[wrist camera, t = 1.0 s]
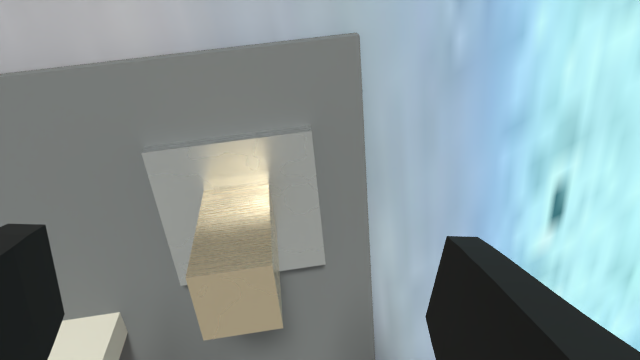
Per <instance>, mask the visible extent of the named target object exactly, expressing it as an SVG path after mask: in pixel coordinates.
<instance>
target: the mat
mask: <svg viewBox="0 0 640 360" xmlns="http://www.w3.org/2000/svg"><path fill="white" fill-rule="evenodd" d="M306 125H310V127H311V131H312V139H313V149H314V158H315V168H316V177H317V187H318V196H319V206H320V215H321V225H322V234H323V244H324V253H325V263H326V264H325V265H318V266H312V267H305V268H298V269H291V270H285V271H279V272H280V287H281V302H282V317H283V328H281V329H275V330H268V331H262V332H256V333H249V334H243V335H236V336H230V337H223V338H217V339H210V340H204V341H203V337H202V334H201V330H200V327H199V323H198V320H197V316H196V313H195V309H194V306H193V302H192V299H191V295H190V292H189V288H188V285H183V286H181V285H180V282H179V278H178V275H177V272H176V268H175V265H174V262H173V258H172V255H171V252H170V248H169V245H168V241H167V238H166V235H165V231H164V228H163V225H162V221H161V218H160V215H159V211H158V208H157V204H156V201H155V198H154V194H153V191H152V188H151V184H150V181H149V178H148V174H147V171H146V167H145V164H144V161H143V157H142V154H141V152H142V151H143V149H144V147H145V146H150V145H158V144H166V143H174V142H182V141H189V140H197V139H205V138H213V137H221V136H228V135H236V134H244V133H252V132H260V131H267V130H275V129H283V128H291V127H299V126H306ZM6 224H41V225H46V229H47V234H48V238H49V243H50V248H51V252H52V257H53V262H54V266H55V271H56V276H57V280H58V285H59V290H60V294H61V299H62V304H63V308H64V313H65V315H64V317H63V320H62V321H64V320H71V319H77V318H84V317H91V316H97V315H104V314H111V313H117V312H120V314H121V316H122V319H123V321H124V324H125V326H126V329H127V332H128V333H127V336H126V340H125V343H124V346H123V349H122V352H121V355H120V358H119V360H375V348H374V327H373V306H372V286H371V265H370V245H369V224H368V203H367V183H366V162H365V141H364V121H363V100H362V79H361V59H360V38H359V35H358V34H357V33H350V34H341V35H332V36H324V37H315V38H307V39H298V40H289V41H281V42H272V43H264V44H255V45H246V46H238V47H229V48H221V49H212V50H203V51H195V52H186V53H178V54H169V55H160V56H152V57H143V58H135V59H126V60H117V61H109V62H100V63H92V64H83V65H74V66H66V67H57V68H49V69H40V70H31V71H23V72H14V73H6V74H0V227H1V226H4V225H6Z"/></svg>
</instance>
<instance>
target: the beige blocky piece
mask: <svg viewBox="0 0 640 360" xmlns="http://www.w3.org/2000/svg"><path fill="white" fill-rule="evenodd" d="M141 154H142V157H143V161H144V164H145V167H146V171H147V174H148V178H149V181H150V184H151V188H152V191H153V194H154V198H155V201H156V204H157V208H158V211H159V215H160V218H161V221H162V225H163V228H164V231H165V235H166V238H167V241H168V245H169V248H170V252H171V255H172V258H173V262H174V265H175V268H176V272H177V275H178V278H179V282H180V285H181V286H183V285H188V288H189V292H190V295H191V299H192V302H193V306H194V309H195V313H196V316H197V320H198V323H199V327H200V330H201V334H202V337H203V341H204V340H210V339H217V338H223V337H230V336H236V335H243V334H249V333H256V332H262V331H268V330H275V329H281V328H283V317H282V302H281V287H280V272H279V271H285V270H291V269H298V268H305V267H312V266H318V265H325V264H326V263H325V253H324V244H323V234H322V225H321V215H320V206H319V196H318V187H317V177H316V168H315V158H314V149H313V139H312V131H311V127H310V125H306V126H299V127H291V128H283V129H275V130H267V131H260V132H252V133H244V134H236V135H228V136H221V137H213V138H205V139H197V140H189V141H182V142H174V143H166V144H158V145H150V146H145V147H144V149H143V151H142V152H141Z"/></svg>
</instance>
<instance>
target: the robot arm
mask: <svg viewBox="0 0 640 360" xmlns="http://www.w3.org/2000/svg"><path fill="white" fill-rule="evenodd" d="M64 315H65V313H64V308H63V304H62V299H61V294H60V290H59V285H58V280H57V276H56V271H55V266H54V262H53V257H52V252H51V248H50V243H49V238H48V234H47V229H46V225H41V224H6V225H4V226H1V227H0V360H48V357H49V355H50V352H51V350H52V347H53V345H54V342H55V339H56V337H57V334H58V331H59V328H60V326H61V323H62V320H63V317H64ZM426 321H427V325H428V329H429V334H430V338H431V342H432V346H433V350H434V354H435V357H436V360H640V352H639V351H637V350H636V349H634V348H633V347H631V346H630V345H628V344H627V343H625V342H624V341H622V340H621V339H620V338H618V337H617V336H615V335H614V334H612V333H611V332H609V331H608V330H606V329H605V328H603V327H602V326H600V325H599V324H597V323H596V322H595V321H593V320H592V319H590V318H589V317H587V316H586V315H585V314H583V313H582V312H580V311H579V310H578V309H576V308H575V307H574V306H572V305H571V304H569V303H568V302H567V301H565V300H564V299H563V298H561V297H560V296H558V295H557V294H556V293H554V292H553V291H552V290H550V289H549V288H548V287H546V286H545V285H544V284H542V283H541V282H540V281H538V280H537V279H536V278H534V277H533V276H531V275H530V274H529V273H527V272H526V271H525V270H523V269H522V268H521V267H519V266H518V265H517V264H515V263H514V262H513V261H511V260H510V259H509V258H507V257H506V256H505V255H503V254H502V253H500V252H499V251H498V250H496V249H495V248H493V247H492V246H491V245H489V244H488V243H486V242H484V241H483V240H481V239H480V238H478V237H457V236H447V238H446V241H445V245H444V249H443V253H442V257H441V260H440V264H439V268H438V272H437V275H436V279H435V283H434V287H433V291H432V294H431V298H430V302H429V306H428V309H427V313H426Z"/></svg>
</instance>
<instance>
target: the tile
mask: <svg viewBox="0 0 640 360" xmlns="http://www.w3.org/2000/svg"><path fill="white" fill-rule="evenodd" d="M127 333H128V332H127V329H126V326H125V324H124V321H123V319H122V316H121V314H120V312H117V313H111V314H104V315H97V316H91V317H84V318H77V319H71V320H64V321H62V323H61V326H60V328H59V331H58V334H57V337H56V339H55V342H54V345H53V347H52V350H51V352H50V355H49V357H48V360H119V358H120V355H121V352H122V349H123V346H124V343H125V340H126V336H127Z"/></svg>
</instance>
